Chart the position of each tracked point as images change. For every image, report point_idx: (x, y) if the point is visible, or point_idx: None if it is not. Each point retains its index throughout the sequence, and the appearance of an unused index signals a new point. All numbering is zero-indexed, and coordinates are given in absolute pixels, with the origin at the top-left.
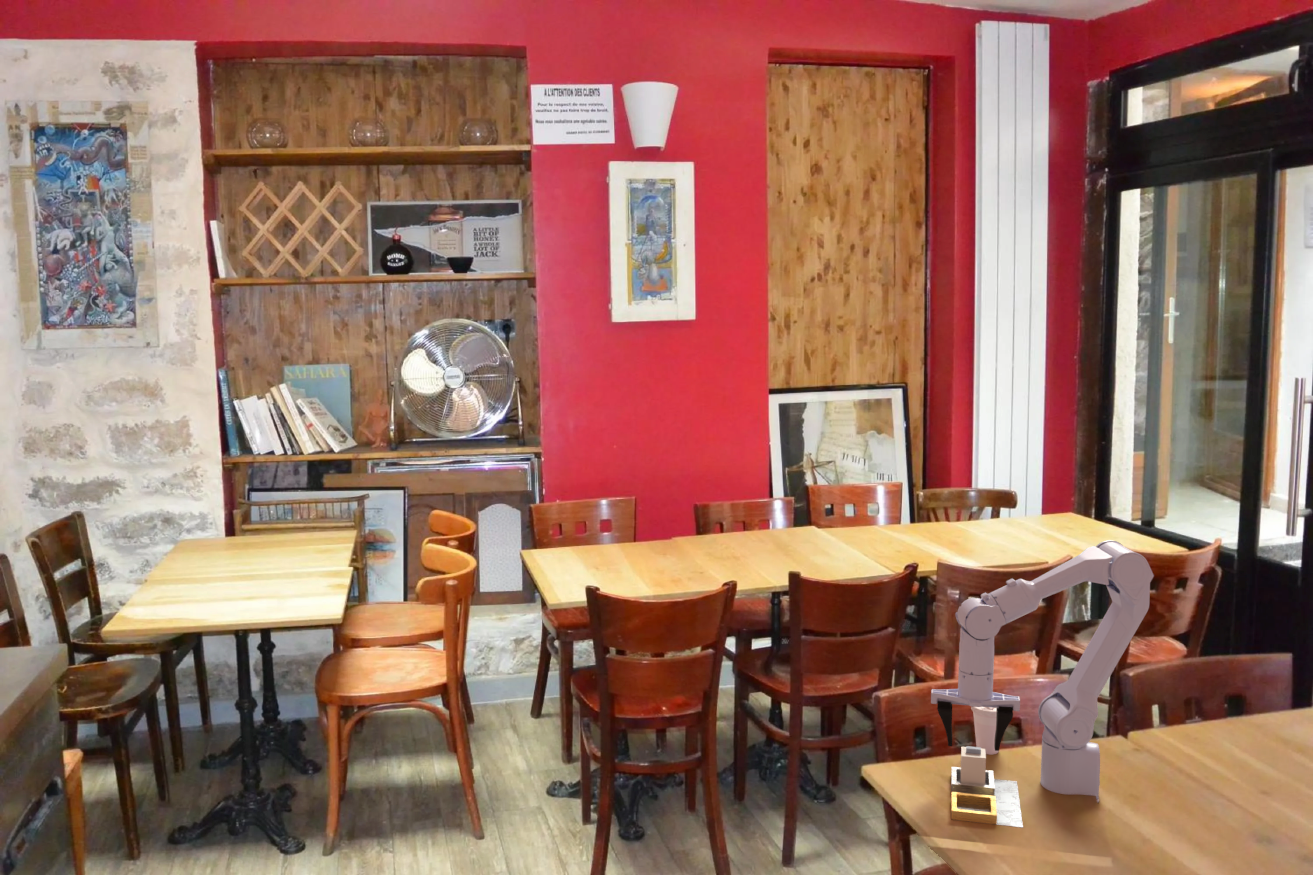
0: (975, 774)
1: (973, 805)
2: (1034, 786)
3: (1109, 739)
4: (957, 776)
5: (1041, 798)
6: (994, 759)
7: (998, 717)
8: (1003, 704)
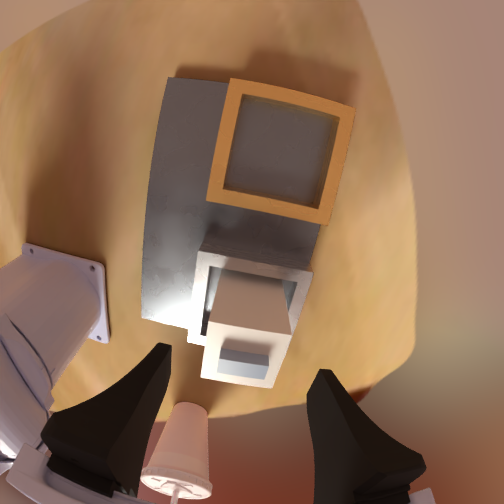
0: (244, 295)
1: (270, 188)
2: (113, 310)
3: (49, 409)
4: None
5: (102, 260)
6: (180, 400)
7: (108, 444)
8: (74, 499)
